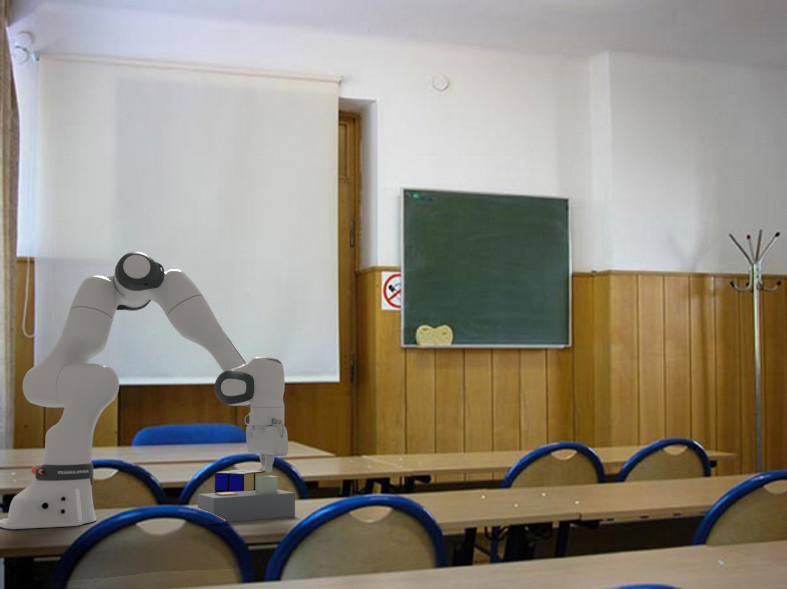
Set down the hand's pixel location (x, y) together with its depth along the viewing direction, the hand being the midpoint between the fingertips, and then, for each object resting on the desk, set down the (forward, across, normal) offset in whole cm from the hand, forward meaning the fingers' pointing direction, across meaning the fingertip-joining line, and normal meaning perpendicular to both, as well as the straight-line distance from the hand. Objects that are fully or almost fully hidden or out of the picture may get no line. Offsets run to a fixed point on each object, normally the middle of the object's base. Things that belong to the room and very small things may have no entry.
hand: (266, 472), depth 242 cm
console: (+11, 0, +6) cm, 12 cm away
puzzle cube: (+12, +19, 0) cm, 22 cm away
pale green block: (+7, 0, 0) cm, 7 cm away
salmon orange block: (+10, -1, +11) cm, 15 cm away
